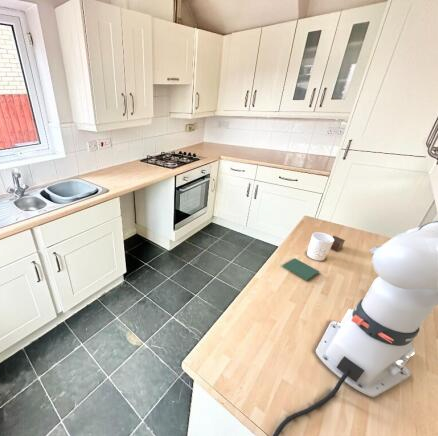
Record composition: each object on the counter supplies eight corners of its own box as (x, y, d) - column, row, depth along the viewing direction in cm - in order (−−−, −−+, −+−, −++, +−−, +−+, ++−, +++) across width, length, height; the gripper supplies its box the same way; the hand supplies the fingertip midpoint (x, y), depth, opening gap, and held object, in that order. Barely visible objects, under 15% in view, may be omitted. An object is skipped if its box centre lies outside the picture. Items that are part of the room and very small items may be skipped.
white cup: (324, 253, 109) (332, 234, 104) (327, 263, 102) (335, 244, 98) (304, 249, 112) (311, 230, 107) (305, 258, 106) (313, 239, 101)
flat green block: (307, 281, 94) (307, 278, 93) (282, 266, 101) (283, 264, 101) (318, 273, 97) (319, 271, 97) (294, 260, 105) (294, 258, 104)
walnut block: (336, 251, 110) (340, 243, 108) (325, 246, 113) (329, 238, 111) (341, 248, 112) (345, 240, 110) (330, 243, 115) (334, 235, 113)
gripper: (416, 261, 71) (363, 268, 84) (438, 240, 81) (387, 249, 93) (404, 241, 73) (353, 251, 85) (427, 223, 82) (378, 234, 94)
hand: (371, 250), depth 89 cm, fingers closed
